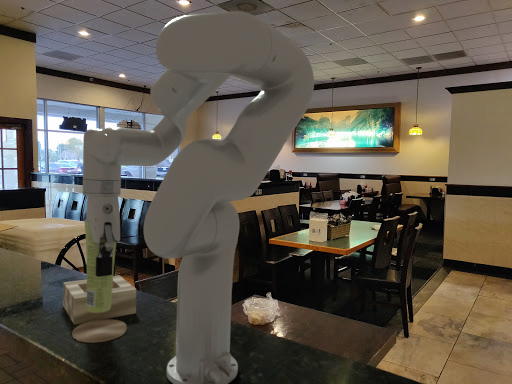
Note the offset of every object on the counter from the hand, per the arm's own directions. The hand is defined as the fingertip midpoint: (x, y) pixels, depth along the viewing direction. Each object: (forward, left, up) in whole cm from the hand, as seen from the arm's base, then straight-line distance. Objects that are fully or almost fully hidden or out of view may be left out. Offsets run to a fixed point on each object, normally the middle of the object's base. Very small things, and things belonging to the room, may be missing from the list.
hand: (100, 271), depth 84 cm
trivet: (0, 0, -13) cm, 13 cm away
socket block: (+13, -3, -13) cm, 19 cm away
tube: (0, 0, -9) cm, 9 cm away
